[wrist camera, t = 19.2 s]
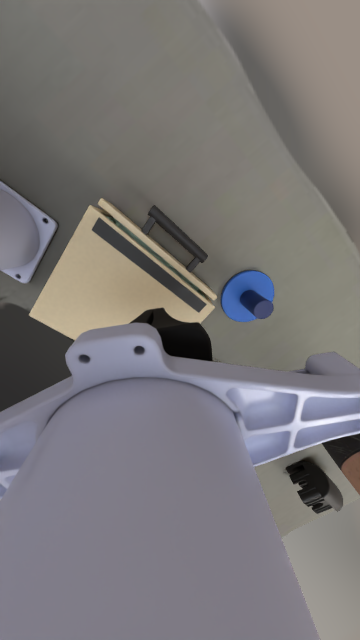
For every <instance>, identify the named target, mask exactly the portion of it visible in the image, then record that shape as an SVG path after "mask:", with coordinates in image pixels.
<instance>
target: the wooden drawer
mask: <svg viewBox="0 0 360 640" xmlns="http://www.w3.org/2000/svg"><path fill="white" fill-rule="evenodd" d="M98 205H99V206H101V207H102V208H103V209H104V210H105V211H107V212H108V213H109V214H110V215H111V216H113V217H114V218H111V217H108V216H106V217H107V218H108V219H109V220H110V221H112V222H113V223H114V224H115V225H117V226H118V227H119V228H120V229H121V230H123V231H124V232H125V233H126V234H128V235H129V236H130V237H131V238H132V239H134V240H135V241H136V242H137V243H138V244H140V245H141V246H142V247H143V248H145V249H146V250H147V251H148V252H149V253H151V254H152V255H153V256H154V257H156V258H157V259H158V260H159V261H160V262H162V263H163V264H164V265H165V266H166V267H168V268H169V269H170V270H171V271H173V272H174V273H175V274H176V275H177V276H179V277H180V278H181V279H182V280H184V281H185V282H186V283H187V284H188V285H190V286H191V287H192V288H193V289H194V290H196V291H197V292H198V293H199V294H201V295H202V296H203V297H204V298H205V296H204V295H203V293H202V292H201V291H203V292H204V293H205V294H206V295H207V296H209V297H210V298H211V299H212V300H213V301H214V300H215V299H216V298H217V295H216V294H215V293H214V292H213V291H212V290H211V289H210V288H209V287H208V286H207V285H206V284H205V283H203V282H202V281H201V280H200V279H199V278H198V277H196V276H195V275H194V274H193V273H192V270H193V269H194V268H195V267H196V266H197V264H198V263H199V262H201V263H203V262H204V261H205V260H206V259H207V257H208V255H207V254H206V253H205V252H204V251H203V250H202V249H201V248H200V247H199V246H198V245H197V244H196V243H195V242H193V241H192V240H191V239H190V238H189V237H188V236H187V235H186V234H185V233H184V232H183V231H182V230H181V229H180V228H179V227H177V226H176V225H175V224H174V223H173V222H172V221H171V220H170V219H169V218H168V217H167V216H166V215H165V214H164V213H163V212H161V211H160V210H159V209H158V208H157V207H156V206H155V205H154V206H153V207H152V208H151V210H150V211H149V213H148V215H149V216H150V218H149V219H148V221H147V222H146V224H145V225H144V227H143V228H142V229H140V228H139V227H138V226H137V225H136V224H135V223H133V222H132V221H131V220H130V219H129V218H128V217H126V216H125V215H124V214H123V213H122V212H121V211H119V210H118V209H117V208H116V207H115V206H114V205H112V204H111V203H109V202H108V201H106V200H104V199H103V198H101V199H100V201H99V202H98ZM155 222H157V223H158V224H159V225H160V226H161V227H162V228H163V229H164V230H165V231H167V232H168V233H169V234H170V235H171V236H172V237H173V238H174V239H175V240H177V241H178V242H179V243H180V244H181V245H182V246H183V247H184V248H185V249H187V250H188V251H189V252H190V253H191V254H192V255H193V256H194V257H195V258H194V259H193V260H192V261H191V263H190V264H189V265H188V266H187V267H185V266H184V265H182V264H181V263H180V262H179V261H178V260H177V259H175V258H174V257H173V256H172V255H171V254H170V253H168V252H167V251H166V250H165V249H164V248H163V247H161V246H160V245H159V244H158V243H157V242H156V241H154V240H153V239H152V238H151V237H150V236H149V235H147V234H148V233H149V231H150V230H151V228H152V227H153V225H154V224H155Z"/></svg>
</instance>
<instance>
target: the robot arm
mask: <svg viewBox="0 0 360 640" xmlns="http://www.w3.org/2000/svg"><path fill="white" fill-rule="evenodd" d="M46 218H47V220H48V223H46V222H45V219H46ZM57 227H58V225H57V223H56V221H55V220H53V219H52V218H51V217H49V216H48V215H47V214H45V213H44V212H42V211H41V210H40V209H38V208H37V207H36V206H34V205H33V204H32V203H30V202H29V201H28V200H26V199H25V198H24V197H22V196H21V195H19V194H18V193H17V192H15V191H14V190H13V189H11V188H10V187H9V186H7V185H6V184H5V183H3V182H2V181H0V270H1V271H3V272H4V273H6V274H8V275H10V276H11V277H13V278H15V279H16V280H18V281H20V282H21V283H28V282H30V280H31V278H32V276H33V274H34V272H35V270H36V268H37V266H38V264H39V262H40V260H41V259H42V257H43V255H44V253H45V251H46V249H47V247H48V245H49V243H50V241H51V239H52V237H53V235H54V233H55V231H56V229H57ZM18 274H19V275H20V276H21V278H20V277H19V276H18ZM65 357H66V363H67V366H68V368H69V371H70V373H71V375H72V376H71V377H69V378H67V379H65V380H63V381H61V382H59V383H57V384H55V385H53V386H51V387H49V388H47V389H45V390H43V391H41V392H39V393H37V394H35V395H33V396H31V397H29V398H27V399H26V400H24V401H22V402H20V403H18V404H16V405H14V406H12V407H10V408H8V409H6V410H4V411H2V412H0V499H1V500H0V640H320V638H319V635H318V632H317V630H316V627H315V624H314V622H313V619H312V617H311V614H310V611H309V609H308V606H307V604H306V601H305V598H304V596H303V593H302V591H301V588H300V585H299V583H298V580H297V578H296V575H295V572H294V570H293V567H292V565H291V562H290V559H289V557H288V554H287V552H286V549H285V546H284V544H283V541H282V539H281V536H280V533H279V531H278V528H277V526H276V523H275V520H274V518H273V515H272V513H271V510H270V507H269V505H268V502H267V500H266V497H265V494H264V492H263V489H262V487H261V484H260V481H259V479H258V476H257V474H256V471H255V468H254V467H256V466H258V465H261V464H264V463H267V462H269V461H272V460H275V459H278V458H281V457H283V456H286V455H289V454H292V453H294V452H297V451H300V450H303V449H305V448H308V447H311V446H314V445H317V444H320V443H323V442H326V441H330V440H334V439H337V438H341V437H345V436H350V435H355V434H360V369H359V368H358V367H356V366H355V365H353V364H352V363H350V362H349V361H347V360H346V359H344V358H343V357H342V356H340V355H339V354H337V353H336V352H328V353H322V354H316V355H312V356H310V357H309V358H308V359H307V361H306V367H305V369H301V370H295V371H289V372H287V371H279V370H272V369H264V368H257V367H249V366H242V365H234V364H227V363H219V362H213V361H212V348H211V341H210V338H209V336H208V334H207V332H206V331H205V329H204V328H203V327H202V326H201V324H200V323H199V322H192V323H189V322H182V321H179V320H176V319H174V318H172V317H171V316H170V315H169V314H168V313H167V312H166V311H165V309H164V308H163V307H162V308H156V309H149V310H146V311H144V312H143V313H142V314H141V315H139V316H138V317H137V318H136V319H134V320H133V321H131V322H130V323H129V324H124V325H117V326H111V327H104V328H98V329H91V330H88V331H86V332H84V333H81V334H80V336H79V337H78V338H77V339H76V340H75V342H74V343H73V344H72V345H71V346H70V348H69V349H68V351H67V353H66V354H65Z"/></svg>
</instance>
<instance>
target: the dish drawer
mask: <svg viewBox="0 0 360 640" xmlns="http://www.w3.org/2000/svg"><path fill="white" fill-rule="evenodd" d="M106 216H108V217H112V216H111V215H110V214H109V213H108V212H107V211H104V210H102V209H99V208H97V207H94V206H92V205H89V207H88V209H87V211H86V212H85V214H84V216H83V218H82V220H81V222H80V223H79V225H78V227H77V229H76V231H75V232H74V234H73V236H72V238H71V240H70V241H69V243H68V245H67V247H66V249H65V250H64V252H63V254H62V256H61V258H60V260H59V261H58V263H57V265H56V267H55V269H54V270H53V272H52V274H51V276H50V278H49V279H48V281H47V283H46V285H45V287H44V288H43V290H42V292H41V294H40V296H39V298H38V299H37V301H36V303H35V305H34V307H33V308H32V310H31V312H30V314H29V316H31V317H33V318H35V319H37V320H38V321H40V322H42V323H44V324H46V325H48V326H49V327H51V328H53V329H55V330H57V331H59V332H61V333H62V334H64V335H66V336H68V337H70V338H72V339H73V340H76V339H77V338H78V337H79V336H80V334H81V333H84V332H86V331H88V330H91V329H98V328H104V327H111V326H117V325H124V324H129V323H130V322H131V321H133V320H134V319H136V318H137V317H138V316H139V315H141V314H142V313H143V312H144V311H146V310H149V309H156V308H162V307H163V308H164V309H165V311H166V312H167V313H168V314H169V315H170V316H171V317H172V318H174V319H176V320H179V321H182V322H189V323H192V322H199V323H201V322H202V321H203V320H204V319H205V318H206V317H207V316H208V314H209V313H210V312H211V311H212V310H213V309H214V308H215V306H214V305H213V304H212V302H211V301H210V299H209V298H208V296H207V295H206V294H205V293H204V292H203V291H202V293H203V295H204V296H205V298H204V297H203V296H202V295H201V294H199V293H198V292H197V291H196V290H194V289H193V288H192V287H191V286H190V285H188V284H187V283H186V282H185V281H184V280H182V279H181V278H180V277H179V276H177V275H176V274H175V273H174V272H173V271H171V270H170V269H169V268H168V267H166V266H165V265H164V264H163V263H162V262H160V261H159V260H158V259H157V258H156V257H154V256H153V255H152V254H151V253H149V252H148V251H147V250H146V249H145V248H143V247H142V246H141V245H140V244H138V243H137V242H136V241H135V240H134V239H132V238H131V237H130V236H129V235H128V234H126V233H125V232H124V231H123V230H121V229H120V228H119V227H118V226H117V225H115V224H114V223H113V222H112V221H110V220H109V219H108V218H107V217H106Z"/></svg>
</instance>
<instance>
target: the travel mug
mask: <svg viewBox="0 0 360 640" xmlns="http://www.w3.org/2000/svg"><path fill="white" fill-rule="evenodd" d="M322 444H323V446H324V447H325V449H326V450H327V451H328V453H329V454H330V456H331V457H332V458H333V460H334V461H335V463H336V464H337V465H338V467H339V468H340V470H341V471H342V472H343V474H344V475H345V476H346V478H347V479H348V480H349V482H350V483H351V484H352V486H353V487H354V488H355V489H356V491H357V492H358V493H359V495H360V434H355V435H350V436H345V437H341V438H337V439H334V440H330V441H326V442H323V443H322Z"/></svg>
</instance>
